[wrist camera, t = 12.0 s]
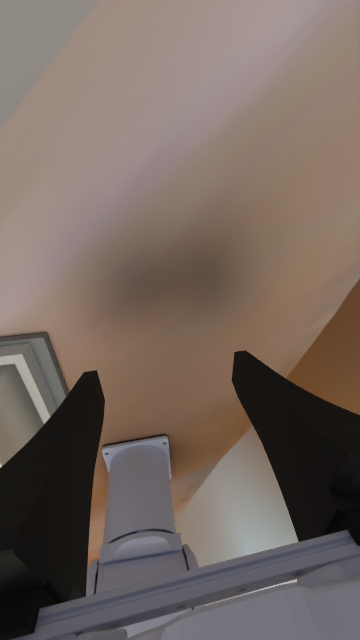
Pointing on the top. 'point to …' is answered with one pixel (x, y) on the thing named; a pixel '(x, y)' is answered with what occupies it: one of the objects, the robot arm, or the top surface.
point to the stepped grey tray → (36, 370)
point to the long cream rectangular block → (15, 413)
